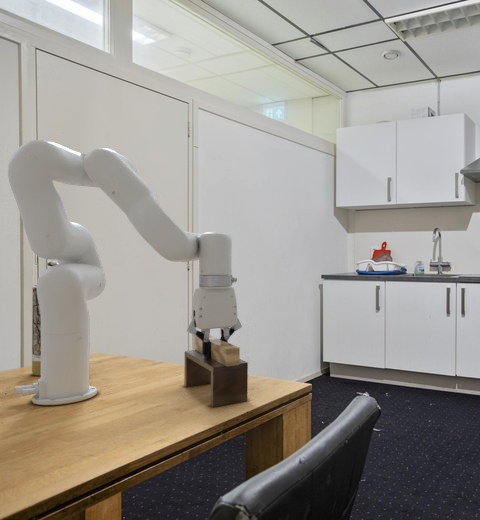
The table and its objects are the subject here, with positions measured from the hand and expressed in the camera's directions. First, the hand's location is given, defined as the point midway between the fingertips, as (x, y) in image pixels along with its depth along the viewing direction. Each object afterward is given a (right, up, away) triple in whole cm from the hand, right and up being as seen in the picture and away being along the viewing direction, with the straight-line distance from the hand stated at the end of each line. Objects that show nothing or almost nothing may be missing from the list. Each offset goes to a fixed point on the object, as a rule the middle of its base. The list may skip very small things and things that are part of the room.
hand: (215, 355), depth 115 cm
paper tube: (-54, -9, +17) cm, 57 cm away
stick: (0, 0, 0) cm, 0 cm away
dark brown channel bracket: (0, -9, 0) cm, 9 cm away
